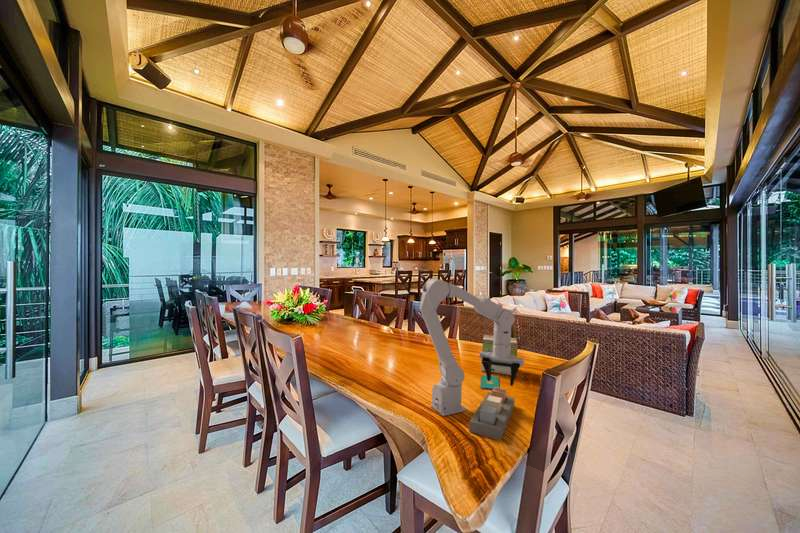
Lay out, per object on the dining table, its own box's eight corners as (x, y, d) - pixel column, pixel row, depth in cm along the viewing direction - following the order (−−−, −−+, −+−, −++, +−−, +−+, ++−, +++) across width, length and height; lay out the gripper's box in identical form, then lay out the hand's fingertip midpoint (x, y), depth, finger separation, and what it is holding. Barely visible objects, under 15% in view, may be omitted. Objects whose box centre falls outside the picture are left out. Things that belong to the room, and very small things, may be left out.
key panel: (500, 440, 89) (501, 430, 89) (469, 431, 94) (469, 421, 94) (514, 406, 111) (514, 397, 111) (488, 400, 115) (488, 391, 115)
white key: (499, 416, 99) (499, 402, 99) (486, 413, 101) (486, 399, 101) (501, 411, 103) (502, 398, 103) (488, 408, 105) (489, 395, 105)
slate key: (493, 428, 92) (494, 413, 92) (479, 425, 94) (480, 410, 94) (496, 422, 96) (496, 408, 96) (483, 419, 98) (483, 405, 98)
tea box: (481, 371, 144) (482, 339, 143) (482, 364, 153) (483, 334, 153) (516, 376, 139) (517, 342, 139) (515, 368, 149) (516, 337, 148)
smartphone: (498, 376, 137) (499, 389, 123) (498, 378, 137) (499, 392, 123) (481, 374, 139) (480, 387, 125) (481, 376, 139) (480, 389, 125)
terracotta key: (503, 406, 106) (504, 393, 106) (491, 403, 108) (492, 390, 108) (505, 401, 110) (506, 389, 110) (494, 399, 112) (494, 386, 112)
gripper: (526, 343, 109) (524, 383, 110) (483, 337, 117) (482, 374, 117) (522, 348, 103) (521, 390, 104) (478, 341, 110) (476, 380, 111)
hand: (500, 382), depth 110 cm, fingers open, 7 cm apart
